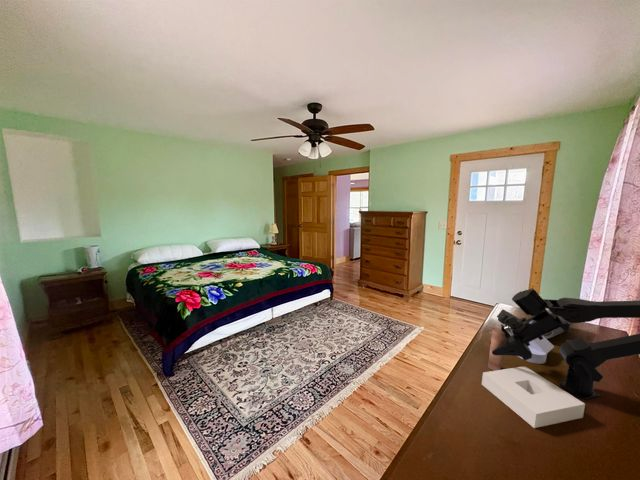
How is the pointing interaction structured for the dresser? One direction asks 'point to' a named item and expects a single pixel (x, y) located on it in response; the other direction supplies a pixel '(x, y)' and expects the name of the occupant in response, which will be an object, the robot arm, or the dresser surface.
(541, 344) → the wedge on round base
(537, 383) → the hole block
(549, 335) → the bluetooth speaker
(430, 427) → the dresser surface
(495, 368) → the peg
